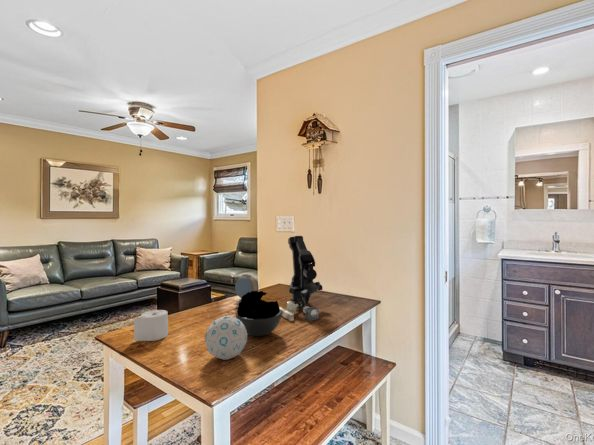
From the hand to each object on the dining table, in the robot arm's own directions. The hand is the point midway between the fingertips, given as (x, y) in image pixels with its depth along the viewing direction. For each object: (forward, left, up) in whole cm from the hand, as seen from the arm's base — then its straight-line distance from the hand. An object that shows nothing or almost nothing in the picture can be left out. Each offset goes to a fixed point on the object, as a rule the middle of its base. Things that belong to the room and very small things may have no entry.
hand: (306, 304), depth 168 cm
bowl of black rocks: (+18, -37, -3) cm, 41 cm away
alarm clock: (-28, -24, -3) cm, 37 cm away
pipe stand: (+13, -6, -3) cm, 15 cm away
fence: (+2, -16, -3) cm, 16 cm away
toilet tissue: (-4, -76, -3) cm, 77 cm away
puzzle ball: (+31, -56, -3) cm, 64 cm away
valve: (+1, -8, -3) cm, 9 cm away
